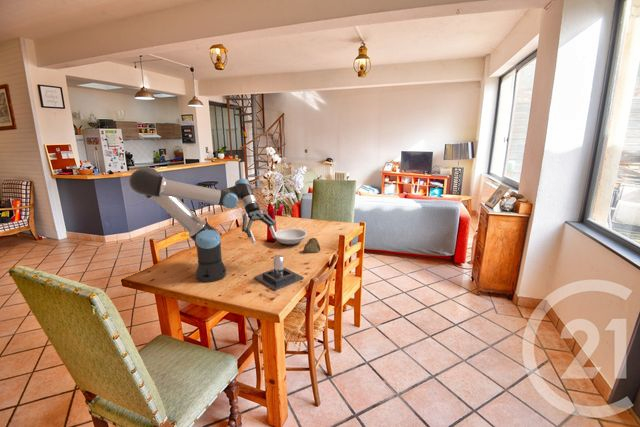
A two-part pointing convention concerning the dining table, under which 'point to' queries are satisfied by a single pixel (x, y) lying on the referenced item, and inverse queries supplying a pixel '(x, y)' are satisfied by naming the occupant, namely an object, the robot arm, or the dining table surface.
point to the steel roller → (278, 266)
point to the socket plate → (278, 283)
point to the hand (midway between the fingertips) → (264, 239)
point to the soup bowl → (290, 236)
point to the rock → (312, 246)
